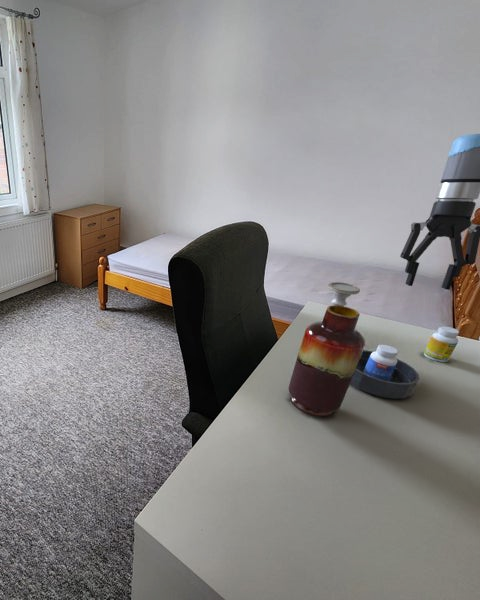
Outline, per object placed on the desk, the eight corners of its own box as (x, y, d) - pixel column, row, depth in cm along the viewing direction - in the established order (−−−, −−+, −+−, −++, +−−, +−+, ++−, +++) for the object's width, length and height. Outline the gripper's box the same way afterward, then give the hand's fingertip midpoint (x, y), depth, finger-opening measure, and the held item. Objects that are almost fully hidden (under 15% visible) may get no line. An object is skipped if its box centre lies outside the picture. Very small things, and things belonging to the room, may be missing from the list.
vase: (347, 423, 78) (388, 325, 67) (294, 417, 80) (326, 320, 69) (325, 392, 88) (358, 301, 77) (279, 387, 90) (305, 298, 79)
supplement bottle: (428, 350, 104) (441, 323, 100) (451, 359, 100) (466, 331, 96) (419, 355, 102) (432, 327, 98) (442, 364, 98) (457, 335, 94)
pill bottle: (367, 383, 90) (380, 353, 86) (358, 371, 95) (369, 342, 90) (392, 386, 89) (406, 355, 84) (380, 374, 93) (394, 344, 89)
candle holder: (303, 337, 113) (320, 280, 104) (332, 338, 111) (352, 281, 103) (315, 351, 105) (335, 291, 96) (347, 353, 103) (369, 293, 95)
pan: (380, 364, 98) (387, 349, 96) (428, 400, 85) (436, 384, 82) (327, 364, 99) (332, 350, 97) (365, 400, 85) (372, 384, 83)
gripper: (502, 201, 86) (469, 288, 93) (400, 199, 95) (377, 279, 102) (520, 201, 80) (484, 295, 86) (409, 199, 88) (384, 284, 95)
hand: (426, 286), depth 94 cm, fingers open, 7 cm apart
